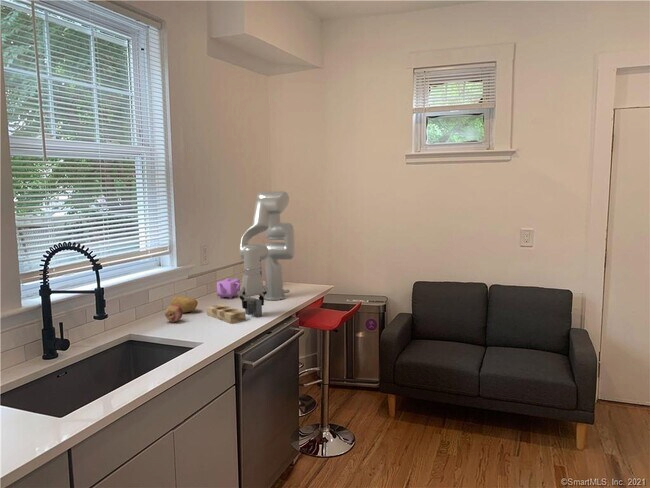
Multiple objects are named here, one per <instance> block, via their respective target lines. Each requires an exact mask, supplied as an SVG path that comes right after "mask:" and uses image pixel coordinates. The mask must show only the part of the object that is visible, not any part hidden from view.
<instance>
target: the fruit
mask: <svg viewBox="0 0 650 488" xmlns="http://www.w3.org/2000/svg"><path fill="white" fill-rule="evenodd" d="M164 316H165V318H166V319H167V320H168V321H169V322H171V323H177V322H179V320H181V318H182V317H183V313H182V309H181V307H180V306H178V305H172V304H170V305H169V306H168V307H167V308H166V309H165V312H164Z"/></svg>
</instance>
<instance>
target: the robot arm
mask: <svg viewBox="0 0 650 488" xmlns="http://www.w3.org/2000/svg"><path fill="white" fill-rule="evenodd" d="M289 197H290V196H289V194H288V192H286V191H285V190H284V191H282V190H281V191H278V190H276V191H273V190H271V191H270V190H269V191H260V192H258V193H257V195H256V201H255V204H254V209H253V210H254V211H253V217H252V224H251V225H250V226H249V227H248V228H247V229H246V230H245V231H244V233H243V234H242V236H241V238H240V241H239V242H240V243H239V253H238V255H239V257H240V259H242V260H243V271H244V273H243V275H242V279H241V287H240V291H238V292H237V297H238V299H240V300H241V307H242V309H244V310H245V309H247V301H246V299H247V298H248V297H254V296H258V299H259V300H262V307H263V306H265V300H266V301H271V300H274V301H281V300H280V299H282V300H284V298H285V297H287V296H286V295H285V294H289V293H290V289H285V288H284V287H283V285H284V284H283V281H284V280H283V265H282V264H281V262H280V261H279V260H293V258H294V257H295V230H294V226H293V224H292V223H290V222H281V214H282V213H283V212H284V211H285V210H286V208H287V207H288V205H289V202H290V198H289ZM263 232H265V233H264V235H265V238H266V239H267V240H272V241H273V240H274V241H275V242H274V241H273V242H272V241H269V242H266V243H265V244H249V242H250V240H251V239H252V238H253V237H255V236H257V235H259V234H261V233H263ZM276 241H277V242H276ZM278 241H279V242H278ZM281 241H283V242H281ZM260 260H261V261H262V260H264V272H265V275H264V277H265V278H264V279H265V285H264V284H263V277H261V274H260V271H262V268H261V269H260ZM285 299H286V298H285Z"/></svg>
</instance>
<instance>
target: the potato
mask: <svg viewBox="0 0 650 488" xmlns="http://www.w3.org/2000/svg"><path fill="white" fill-rule="evenodd" d="M170 303H171V305H178V306H180V307H181V309H182V314H183V313H191V312H193V311H194V310H195V309H197V307H198V300H196V298H193V297H188V296H180V295H178V296H174V297H172V299H171V302H170Z"/></svg>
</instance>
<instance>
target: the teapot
mask: <svg viewBox="0 0 650 488" xmlns="http://www.w3.org/2000/svg"><path fill="white" fill-rule="evenodd" d="M240 282H241V279H238V277H235V278H234V279H231V278H229V277H227V278H225V279H223V280H219V281H217V282H216V293H217V294H216V296H217V297H220V299H224V298H228V299H229V300H232V299H233V297H234V298H237V297H238V295H237V292H238V291H240V290H241V283H240Z"/></svg>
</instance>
